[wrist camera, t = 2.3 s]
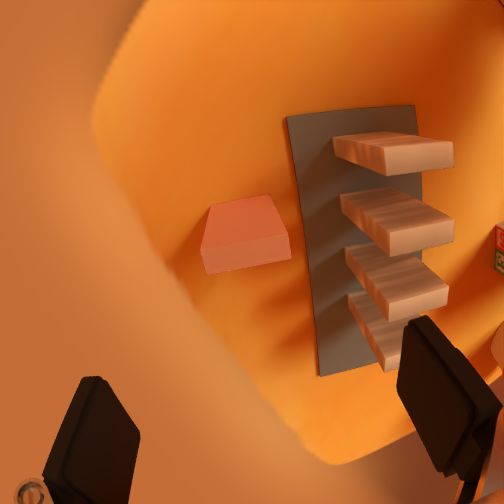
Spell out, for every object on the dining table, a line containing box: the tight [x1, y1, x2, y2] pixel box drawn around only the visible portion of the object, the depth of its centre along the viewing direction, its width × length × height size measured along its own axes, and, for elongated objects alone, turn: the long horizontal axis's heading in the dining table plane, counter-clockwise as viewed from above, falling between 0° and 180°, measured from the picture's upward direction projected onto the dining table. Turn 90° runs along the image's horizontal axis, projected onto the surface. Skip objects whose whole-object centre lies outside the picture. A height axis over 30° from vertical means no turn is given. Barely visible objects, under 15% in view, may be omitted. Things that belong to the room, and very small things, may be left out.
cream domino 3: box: [344, 241, 449, 323], centre depth 25 cm, size 2×5×10 cm, turn 100°
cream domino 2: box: [339, 186, 454, 257], centre depth 23 cm, size 2×5×10 cm, turn 101°
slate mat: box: [286, 105, 422, 377], centre depth 30 cm, size 28×12×1 cm, turn 11°
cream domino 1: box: [332, 131, 454, 176], centre depth 21 cm, size 2×5×10 cm, turn 101°
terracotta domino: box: [200, 194, 292, 275], centre depth 23 cm, size 2×5×10 cm, turn 100°
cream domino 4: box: [347, 289, 421, 373], centre depth 27 cm, size 2×5×10 cm, turn 101°
